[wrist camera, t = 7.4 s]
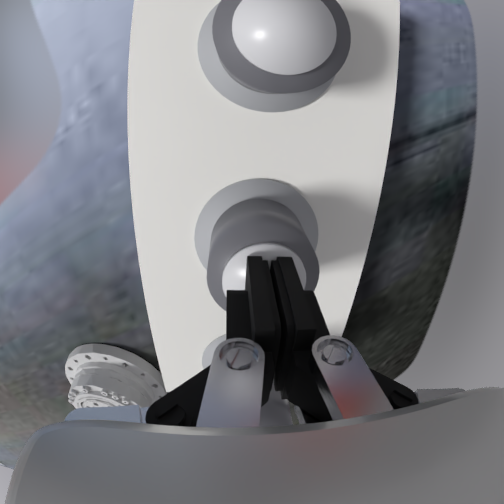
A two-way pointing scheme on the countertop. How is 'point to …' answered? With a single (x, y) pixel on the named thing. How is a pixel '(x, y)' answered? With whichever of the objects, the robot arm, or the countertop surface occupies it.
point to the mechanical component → (111, 378)
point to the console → (249, 164)
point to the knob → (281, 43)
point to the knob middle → (257, 245)
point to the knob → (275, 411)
